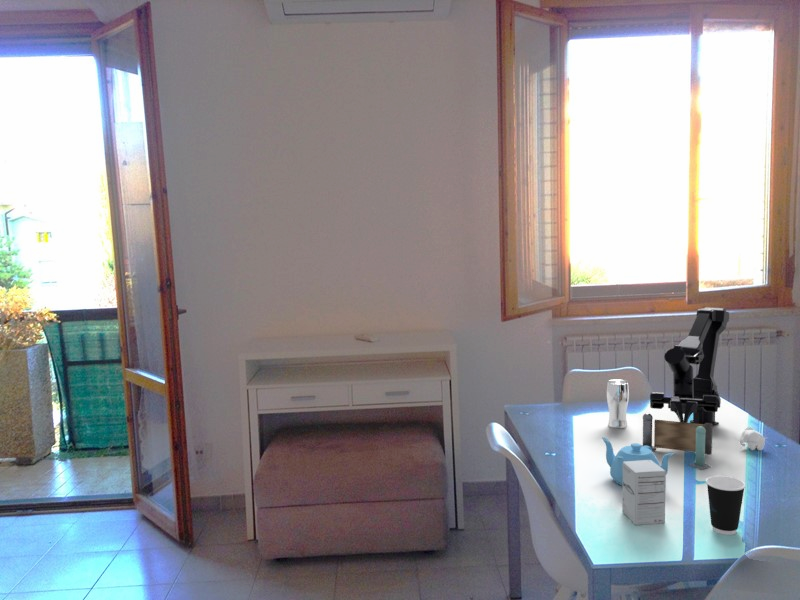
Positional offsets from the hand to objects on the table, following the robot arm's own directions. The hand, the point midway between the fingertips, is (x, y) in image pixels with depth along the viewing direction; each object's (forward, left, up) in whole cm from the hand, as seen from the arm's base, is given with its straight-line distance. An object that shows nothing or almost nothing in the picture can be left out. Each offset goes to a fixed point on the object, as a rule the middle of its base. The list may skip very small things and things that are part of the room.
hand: (683, 427), depth 200 cm
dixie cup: (+31, +41, -8) cm, 52 cm away
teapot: (+29, +11, -8) cm, 32 cm away
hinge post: (+7, -7, -7) cm, 12 cm away
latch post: (+5, +10, -7) cm, 14 cm away
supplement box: (+42, +28, -8) cm, 51 cm away
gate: (+1, +1, -7) cm, 7 cm away
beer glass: (-1, -29, -8) cm, 30 cm away
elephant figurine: (-20, +8, -8) cm, 22 cm away
